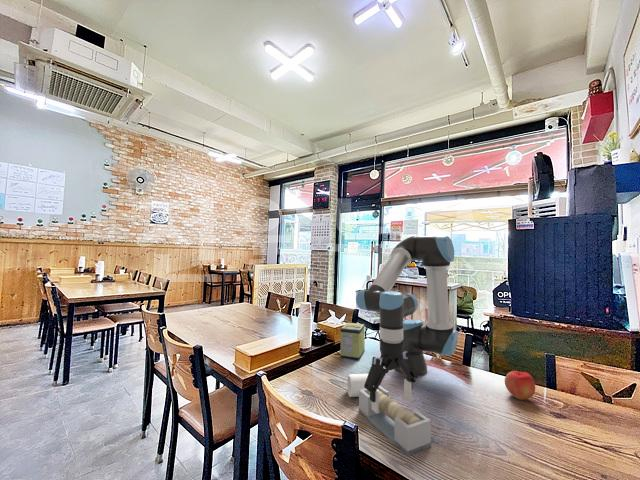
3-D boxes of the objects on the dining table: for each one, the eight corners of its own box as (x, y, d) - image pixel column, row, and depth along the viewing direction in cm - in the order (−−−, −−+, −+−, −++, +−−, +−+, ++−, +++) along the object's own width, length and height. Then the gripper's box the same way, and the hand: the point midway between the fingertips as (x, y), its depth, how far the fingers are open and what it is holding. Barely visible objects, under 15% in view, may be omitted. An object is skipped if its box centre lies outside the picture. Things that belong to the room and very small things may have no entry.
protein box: (364, 351, 161) (364, 323, 162) (359, 361, 146) (359, 330, 147) (346, 348, 165) (347, 321, 165) (340, 358, 150) (340, 328, 151)
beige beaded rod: (369, 405, 99) (367, 391, 99) (380, 399, 102) (378, 386, 101) (410, 439, 82) (408, 423, 81) (423, 431, 84) (420, 415, 83)
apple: (531, 395, 113) (531, 369, 113) (538, 407, 104) (537, 379, 105) (503, 390, 117) (502, 365, 117) (507, 401, 108) (507, 374, 109)
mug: (376, 400, 108) (376, 378, 109) (351, 401, 107) (351, 379, 107) (367, 385, 120) (367, 366, 120) (344, 386, 119) (344, 367, 119)
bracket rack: (379, 405, 104) (379, 385, 104) (430, 446, 82) (430, 420, 83) (358, 411, 100) (359, 390, 100) (407, 456, 78) (407, 428, 79)
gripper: (411, 331, 101) (412, 391, 101) (352, 342, 90) (353, 409, 90) (428, 337, 94) (429, 401, 94) (366, 349, 83) (367, 422, 83)
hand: (392, 405), depth 92 cm, fingers open, 13 cm apart
